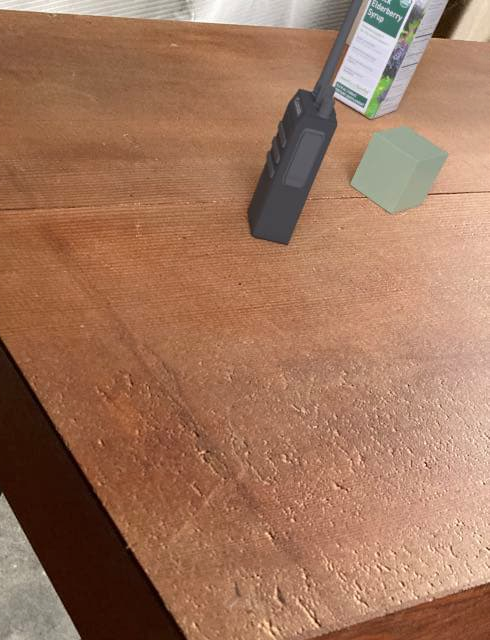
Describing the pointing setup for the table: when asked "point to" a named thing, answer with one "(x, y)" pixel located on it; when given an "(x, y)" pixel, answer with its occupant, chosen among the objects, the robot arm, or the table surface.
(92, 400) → the table surface
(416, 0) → the syrup box
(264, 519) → the table surface
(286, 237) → the walkie-talkie
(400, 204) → the sage block
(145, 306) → the table surface
